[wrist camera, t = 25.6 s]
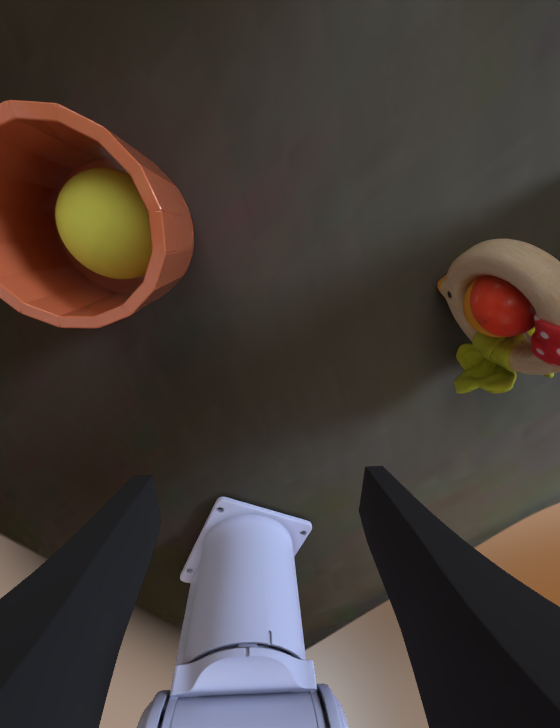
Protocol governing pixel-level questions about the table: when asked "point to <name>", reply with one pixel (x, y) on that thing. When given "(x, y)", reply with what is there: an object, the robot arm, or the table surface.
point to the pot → (39, 230)
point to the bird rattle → (504, 313)
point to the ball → (105, 223)
